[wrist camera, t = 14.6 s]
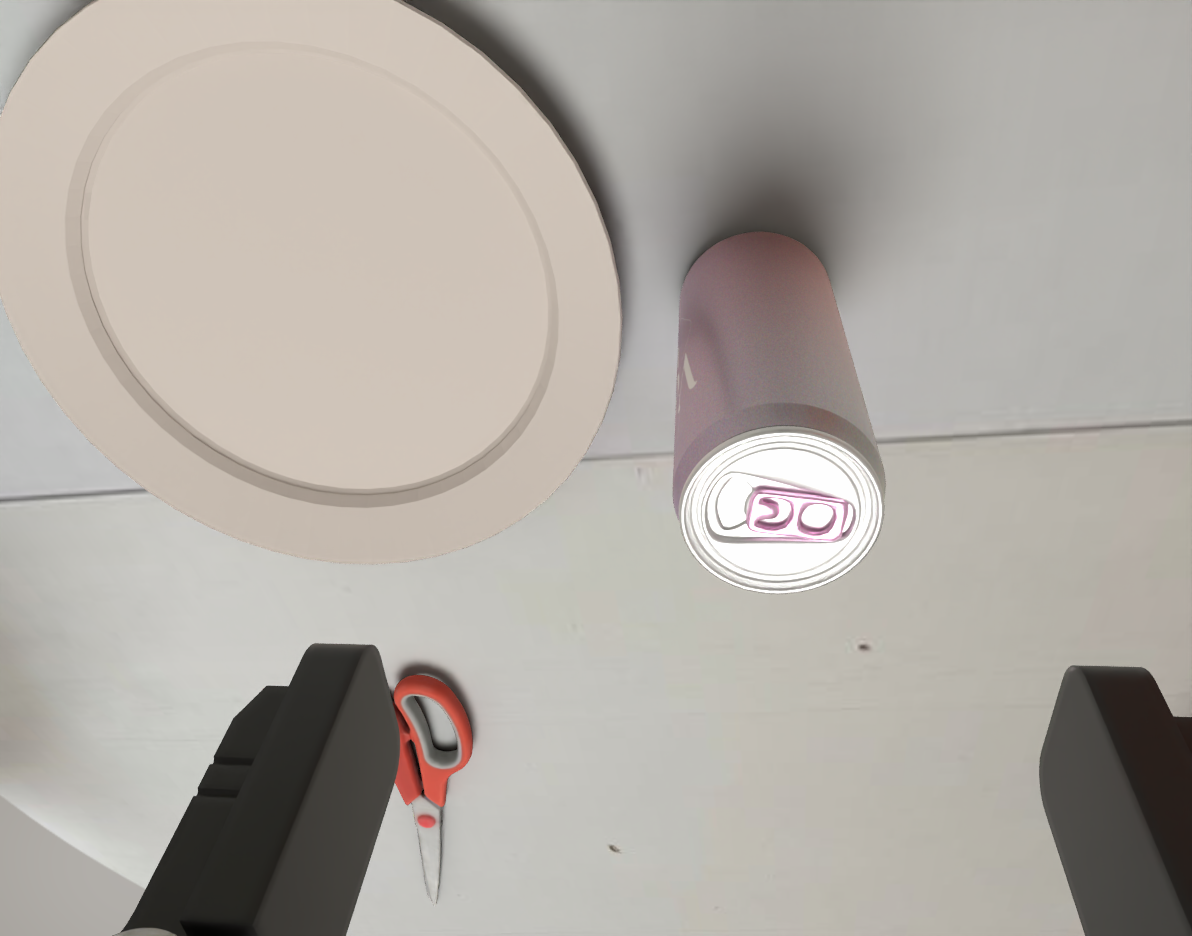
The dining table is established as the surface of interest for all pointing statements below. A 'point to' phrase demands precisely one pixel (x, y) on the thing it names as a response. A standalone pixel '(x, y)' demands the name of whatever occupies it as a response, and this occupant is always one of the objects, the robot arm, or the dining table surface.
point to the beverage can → (771, 422)
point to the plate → (307, 270)
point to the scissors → (428, 764)
